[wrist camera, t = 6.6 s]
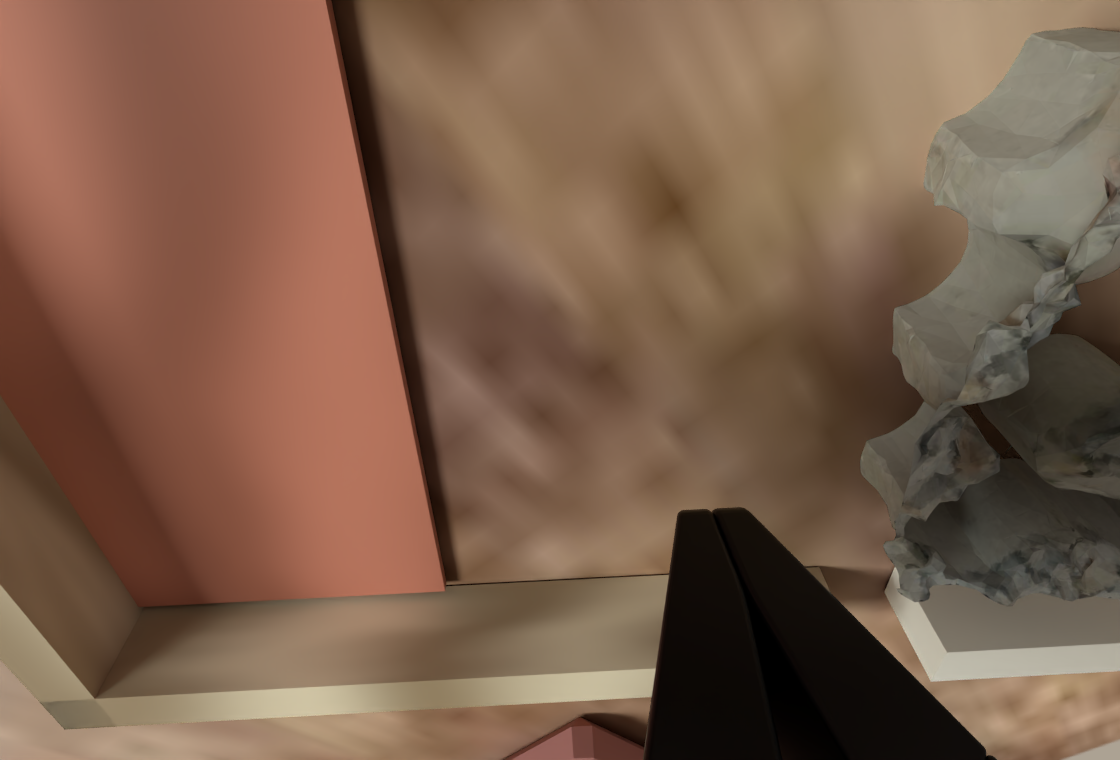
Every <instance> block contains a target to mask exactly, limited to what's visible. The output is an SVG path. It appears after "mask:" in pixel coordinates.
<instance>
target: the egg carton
mask: <svg viewBox="0 0 1120 760" xmlns="http://www.w3.org/2000/svg"><path fill="white" fill-rule="evenodd" d="M924 187H925V189H926V190H927V191H929V192H931V193H933V194H934V206H936V205H944V206H946V207H948V208H950V209H952V210H954V211H956V212H958V213H960V214H961V215H963V216H964V217H965V218H966V219H967V221H968V229H969V234H968V245H967V248H966V250H965V252H964V255H963V257H962V259H961V261H960V263H959V264H958V265H957V267H956V268H955V269H954V270H953V271H952V273H951V274H950V275H949V276H948V277H947V278H946V279H945V280H944V281H943V282H942V283H941V284H940V285H939V286H938V287H936V288H935V289H934V290H933V291H931V292H930V293H929V294H927V295H926V296H924V297H922V298H920V299H918V300H916V301H914V302H911V303H909V304H907V305H903V306H899V307H896V308H895V309H894V314H893V339H894V343H893V347H892V351H893V354H894V355H896V356H897V357H898V359H899V361H900V363H901V365H902V370H903V375H904V377H905V379H906V381H907V382H908V383H909V384H910V385H912V386H913V387H914V388H915V389H916V390H917V391H918V392H919V394H920V395H921V397H922V398H923V399H924V402H923V403H922V405H921V407H920V408H919V410H918V411H917V413H916V414H915V416H913V417H912V418H911V419H909V420H908V421H907V422H906V423H904V424H903V425H902V426H900V427H898V428H897V429H895V430H893V431H892V432H890V433H888V434H885V435H882V436H879V437H876V438H873V439H870V440H867V442H866V444H865V447H864V450H863V452H862V454H861V460H860V468H861V474H862V476H863V477H864V478H865V479H866V480H867V481H868V482H869V483H870V484H871V485H872V486H873V487H875V488H876V489H877V490H878V492H879V494H880V495H881V497H882V499H883V500H884V502H885V503H886V504H887V508H888V513H889V517H890V521H891V524H892V527H893V528H894V529H895V530H896V537H895V539H894V540H893V541H887V542H885V543H884V545H883V547H884V549H885V552H886V554H887V556H888V557H889V558H890V560H891V561H892V563H893V564H894V566H895V567H896V569H897V571H898V574H899V584H900V588H896V589H897V591H898V592H899V593H900V594H901V595H903V596H904V597H906V598H908V599H910V600H911V601H913V602H923V601H926V600H928V599H929V597H930V591H929V589H930V588H931V587H932V586H935V585H959V586H963V587H967V588H971V589H975V590H978V591H979V592H980V593H982V594H983V595H985V596H986V597H987V598H989V599H991V600H992V601H994V602H996V603H998V604H1001V605H1004V606H1013V605H1014V603H1015V602H1016V601H1017V599H1019V598H1022V597H1024V596H1027V595H1029V594H1032V593H1041V594H1045V595H1049V596H1053V597H1058V598H1062V599H1063V600H1064V601H1065V600H1068V601H1071V602H1072V601H1074V600H1076V599H1082V598H1088V597H1094V596H1096V597H1103V598H1110V599H1118V600H1120V366H1119V365H1118V364H1117V363H1115V362H1114V361H1113V360H1112V359H1110V358H1109V357H1108V356H1107V355H1105V354H1104V353H1103V352H1101V351H1100V350H1099V349H1097V348H1096V347H1094V346H1093V345H1091V344H1090V343H1088V342H1087V341H1085V340H1084V339H1082V338H1081V337H1079V336H1076V335H1069V334H1059V333H1058V334H1052V335H1049V334H1050V332H1051V329H1052V327H1053V324H1055V323H1056V322H1058V321H1059V320H1060V318H1061V316H1062V313H1063V312H1064V311H1066V310H1069V309H1072V308H1074V307H1077V306H1080V305H1081V302H1080V299H1079V296H1078V292H1077V289H1076V285H1078V284H1082V283H1086V282H1090V281H1093V280H1095V279H1098V278H1101V277H1103V276H1106V275H1108V274H1110V273H1111V272H1113V271H1115V270H1116V269H1118V268H1119V267H1120V32H1114V31H1102V30H1098V29H1095V28H1084V27H1082V28H1072V29H1064V30H1056V31H1043V32H1038V33H1034V34H1032V35H1031V36H1030V37H1029V38H1028V39H1027V40H1026V42H1025V44H1024V46H1023V48H1022V50H1021V52H1020V53H1019V55H1018V57H1017V58H1016V60H1015V61H1014V63H1013V65H1012V66H1011V68H1010V69H1009V71H1008V73H1007V74H1006V76H1005V78H1004V79H1003V80H1002V81H1001V82H1000V84H999V85H998V86H997V87H996V88H995V89H994V90H993V91H992V93H991V94H990V95H989V96H988V97H986V98H985V99H984V100H983V101H981V102H980V103H979V104H977V105H976V106H975V107H974V108H972V109H971V110H970V111H968V112H966V113H965V114H963V115H960V116H958V117H956V118H953V119H951V120H949V121H947V122H944V123H943V124H942V126H941V127H940V129H939V130H938V132H937V133H936V135H935V137H934V140H933V142H932V143H931V147H930V151H929V154H928V158H927V165H926V172H925V178H924ZM975 403H978V405H979V407H980V409H981V411H982V413H983V415H984V416H985V417H986V418H987V419H988V420H989V421H990V422H991V423H992V424H993V425H994V426H995V427H996V428H997V429H998V430H999V432H1000V433H1001V434H1002V435H1003V436H1004V437H1005V438H1006V440H1007V441H1008V442H1009V443H1010V444H1011V446H1010V447H1009V448H1008V450H1009V449H1010V448H1011V447H1013V448H1014V449H1015V450H1016V451H1017V452H1018V453H1019V455H1020V456H1021V457H1022V458H1023V459H1024V460H1021V459H1015V458H1007V459H1000V455H999V454H998V453H997V452H996V451H995V450H994V449H993V448H992V447H991V446H990V445H989V444H988V443H987V442H986V440H985V438H984V437H983V435H982V434H981V432H980V430H979V429H978V427H977V426H976V425H975V423H974V422H973V420H972V419H971V417H970V416H969V415H968V414H967V413H966V412H965V410H964V409H963V408H962V407H961V406H965V405H970V404H975ZM1008 450H1007V451H1008ZM1007 451H1006V452H1007ZM1006 452H1005V453H1006Z"/></svg>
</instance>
